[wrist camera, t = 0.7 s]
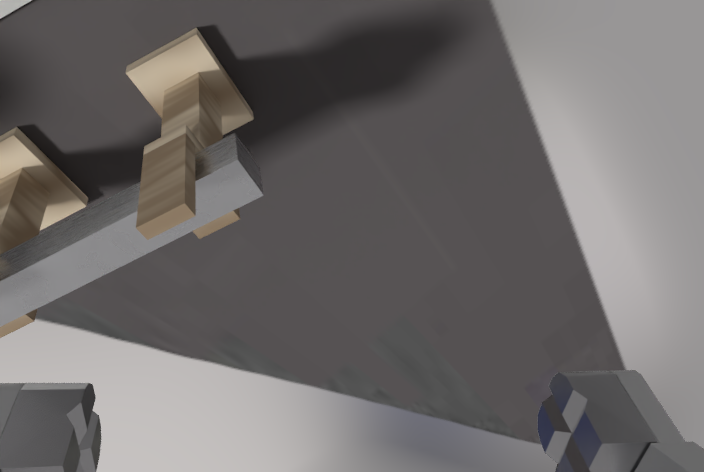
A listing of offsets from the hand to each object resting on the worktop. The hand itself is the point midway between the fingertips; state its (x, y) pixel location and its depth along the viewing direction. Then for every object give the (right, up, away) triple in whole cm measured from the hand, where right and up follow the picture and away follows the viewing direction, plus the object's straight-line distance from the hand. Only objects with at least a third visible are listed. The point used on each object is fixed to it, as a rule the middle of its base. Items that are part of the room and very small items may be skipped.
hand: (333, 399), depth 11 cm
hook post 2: (-12, +14, +38) cm, 42 cm away
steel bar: (-17, +3, +30) cm, 35 cm away
